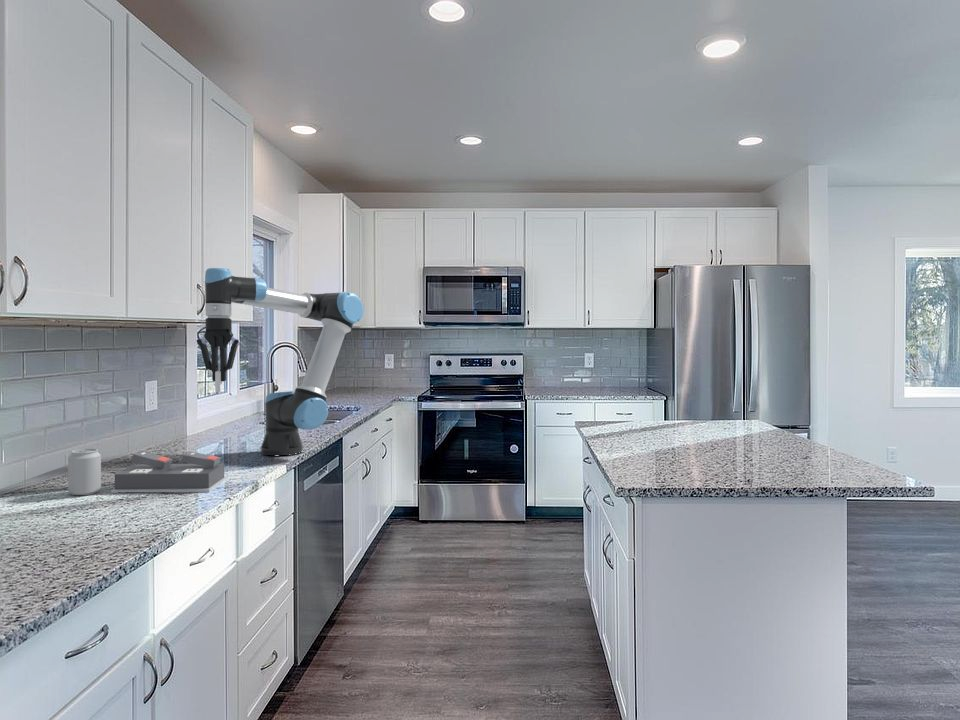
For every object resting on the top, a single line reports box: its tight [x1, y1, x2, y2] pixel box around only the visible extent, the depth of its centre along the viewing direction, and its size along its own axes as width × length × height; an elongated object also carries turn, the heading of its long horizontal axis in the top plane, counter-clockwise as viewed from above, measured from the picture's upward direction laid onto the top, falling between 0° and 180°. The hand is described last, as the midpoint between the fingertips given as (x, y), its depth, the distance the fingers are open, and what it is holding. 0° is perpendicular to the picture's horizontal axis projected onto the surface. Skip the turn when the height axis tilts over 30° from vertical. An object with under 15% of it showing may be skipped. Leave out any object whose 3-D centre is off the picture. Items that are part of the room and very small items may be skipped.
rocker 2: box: [181, 451, 221, 468], centre depth 170 cm, size 5×9×2 cm, turn 96°
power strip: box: [110, 463, 228, 494], centre depth 167 cm, size 15×26×5 cm, turn 96°
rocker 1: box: [131, 450, 173, 469], centre depth 168 cm, size 5×9×2 cm, turn 96°
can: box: [67, 448, 102, 496], centre depth 158 cm, size 8×8×12 cm
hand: (219, 391), depth 183 cm, fingers closed
